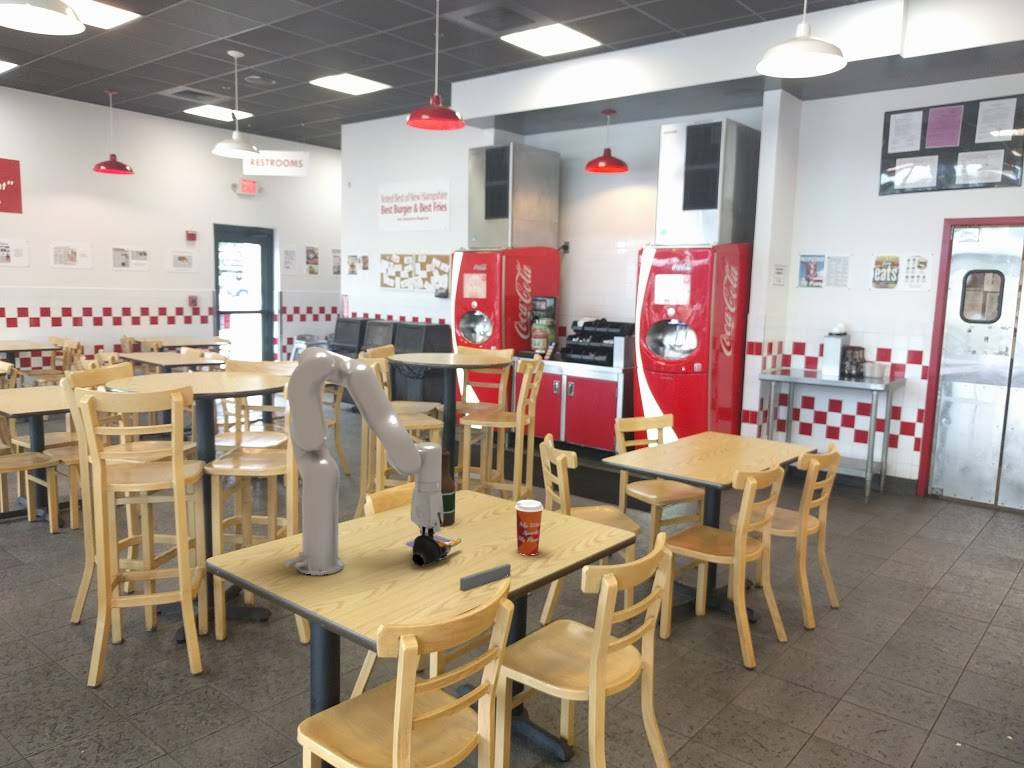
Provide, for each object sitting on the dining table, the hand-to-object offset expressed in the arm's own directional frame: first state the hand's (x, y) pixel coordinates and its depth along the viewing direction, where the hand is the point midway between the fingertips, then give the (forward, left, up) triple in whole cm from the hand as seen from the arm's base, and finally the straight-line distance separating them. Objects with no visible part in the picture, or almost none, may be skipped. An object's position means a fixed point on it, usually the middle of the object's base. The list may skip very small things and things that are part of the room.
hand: (427, 547), depth 220 cm
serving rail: (0, -26, -2) cm, 26 cm away
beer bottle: (+21, +20, -2) cm, 30 cm away
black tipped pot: (0, -5, -2) cm, 6 cm away
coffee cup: (+24, -17, -2) cm, 30 cm away
